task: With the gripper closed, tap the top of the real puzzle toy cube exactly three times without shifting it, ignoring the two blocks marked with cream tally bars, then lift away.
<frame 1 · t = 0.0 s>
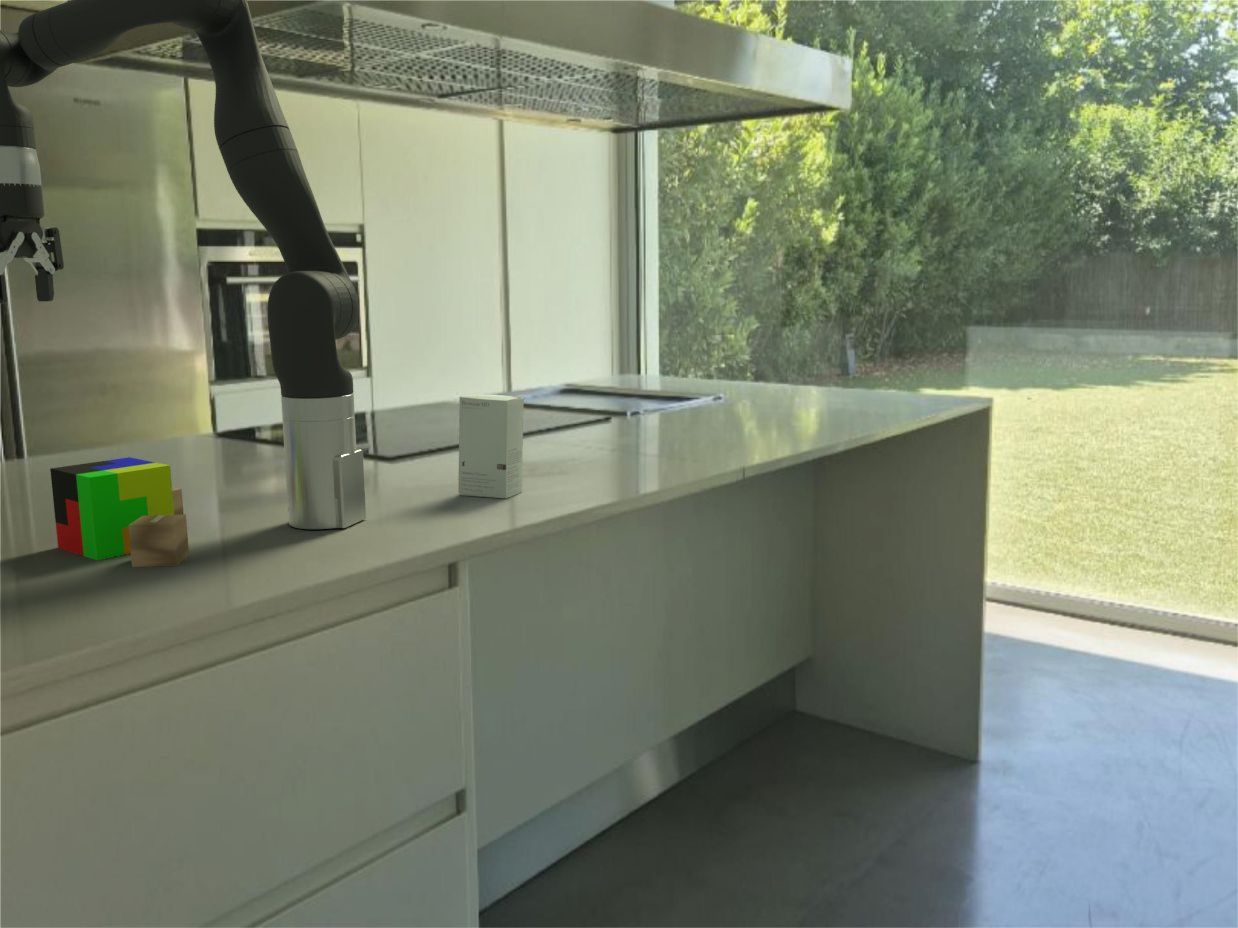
hand: (22, 302, 157), 29 cm above the counter, fingers open, 8 cm apart
two bar block: (156, 527, 149), on the counter
puzzle toy: (117, 547, 139), on the counter
skincare box: (492, 495, 169), on the counter
one bar block: (161, 561, 132), on the counter
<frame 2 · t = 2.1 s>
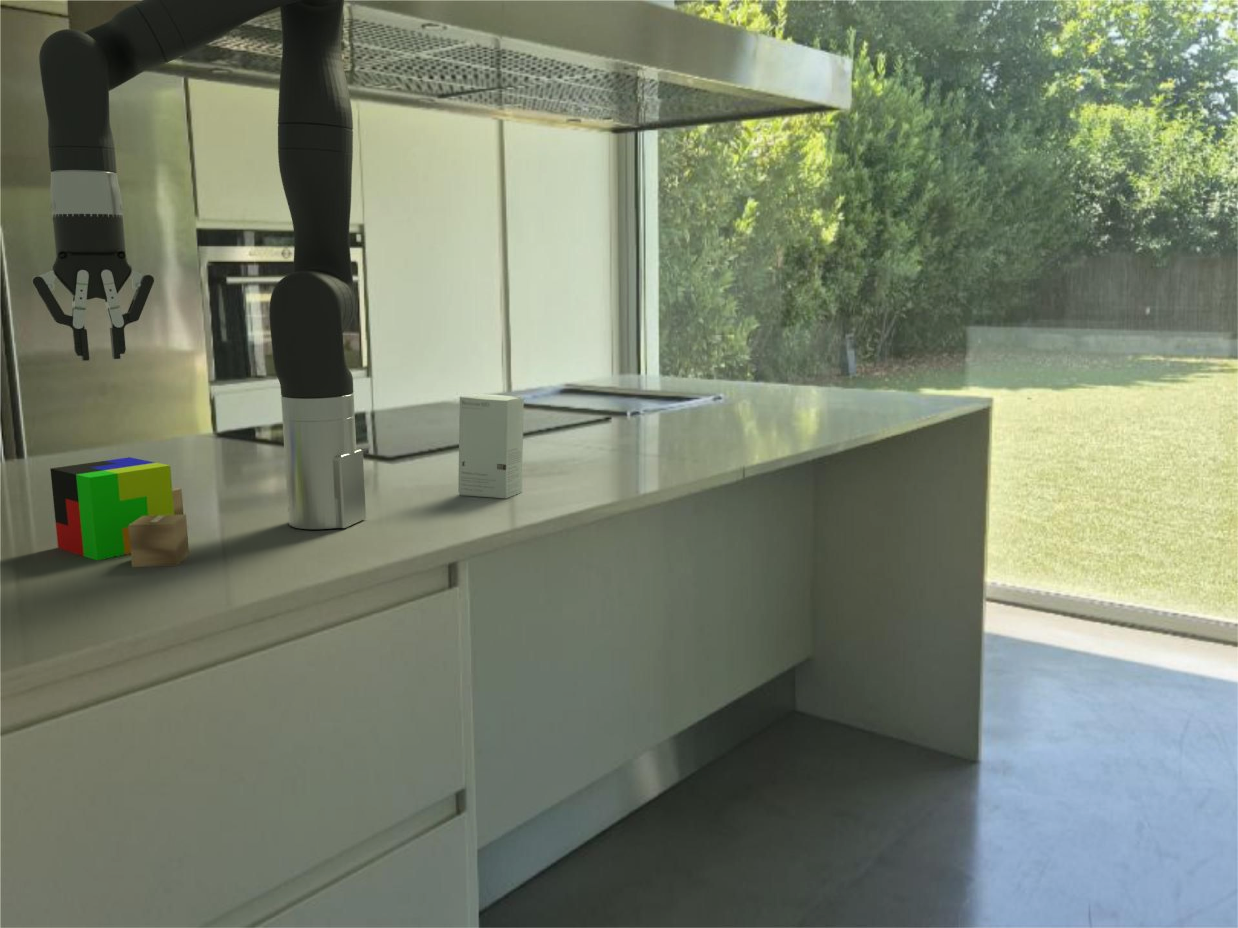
hand: (100, 358, 135), 23 cm above the counter, fingers open, 3 cm apart
nothing on the counter moved.
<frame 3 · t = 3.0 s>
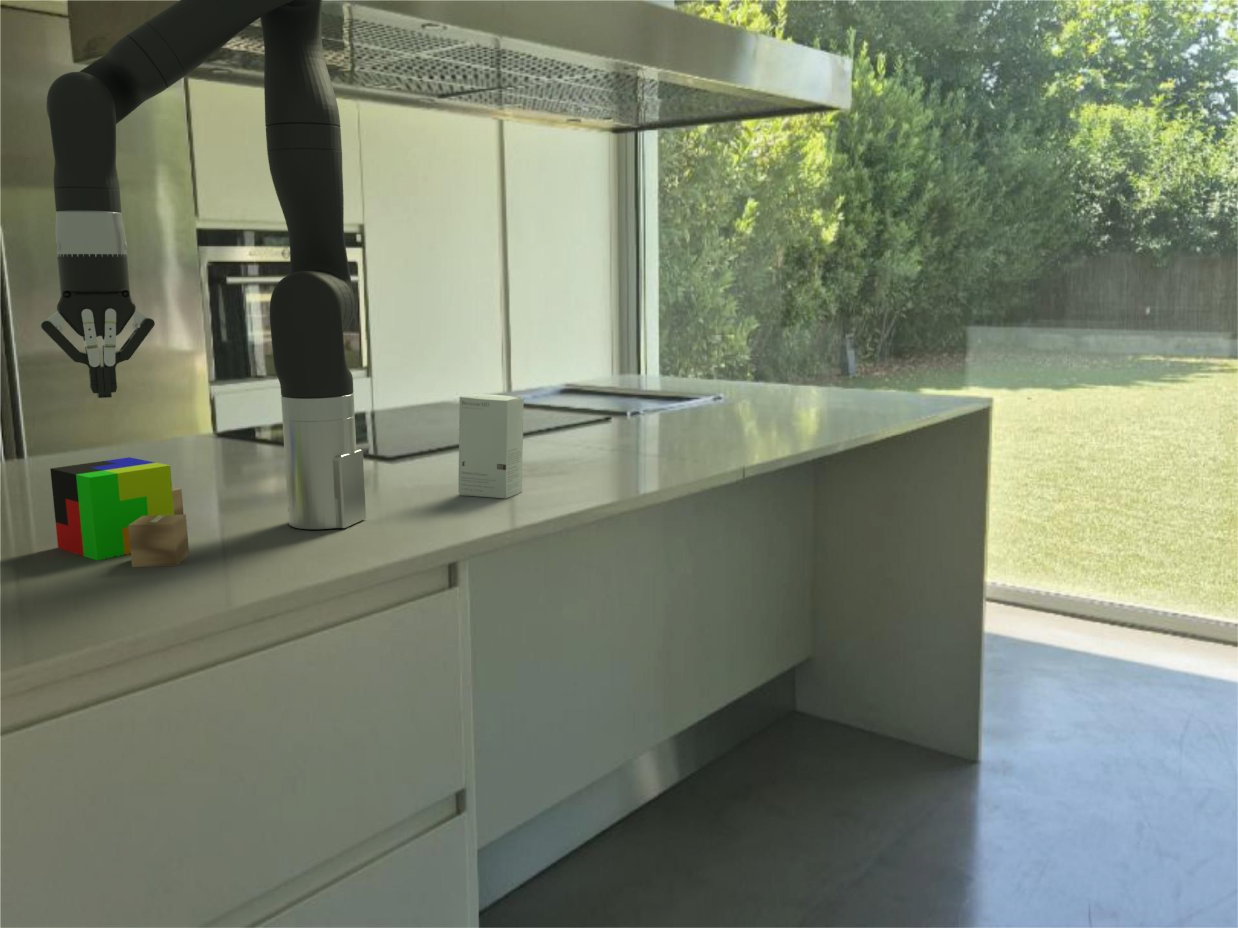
hand: (104, 397, 136), 18 cm above the counter, fingers closed
nothing on the counter moved.
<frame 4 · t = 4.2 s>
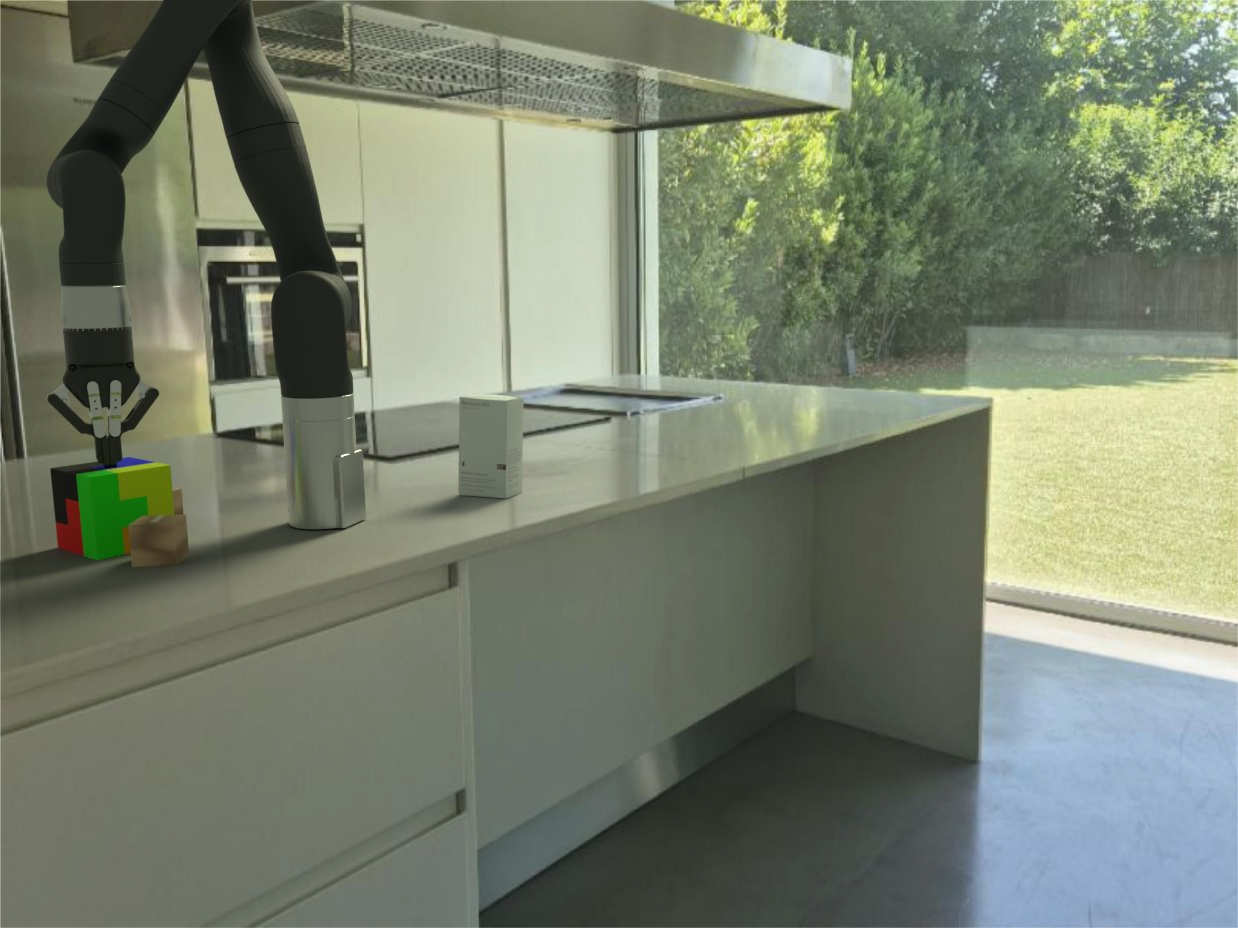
hand: (109, 466, 138), 10 cm above the counter, fingers closed
puzzle toy: (117, 547, 139), on the counter, touching gripper
everything else where it was.
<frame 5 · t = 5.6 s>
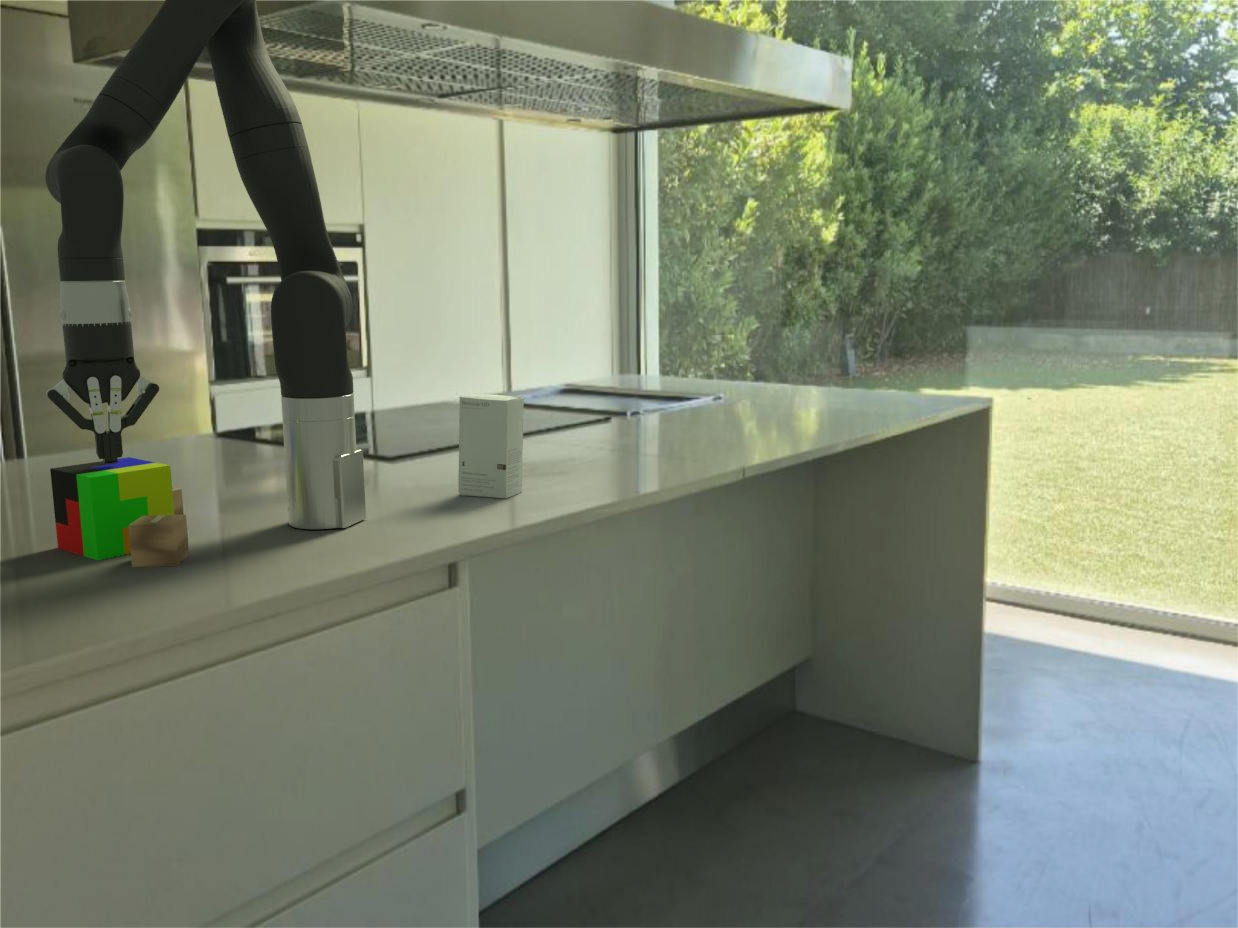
hand: (110, 462, 137), 11 cm above the counter, fingers closed
puzzle toy: (117, 547, 139), on the counter
everything else where it was.
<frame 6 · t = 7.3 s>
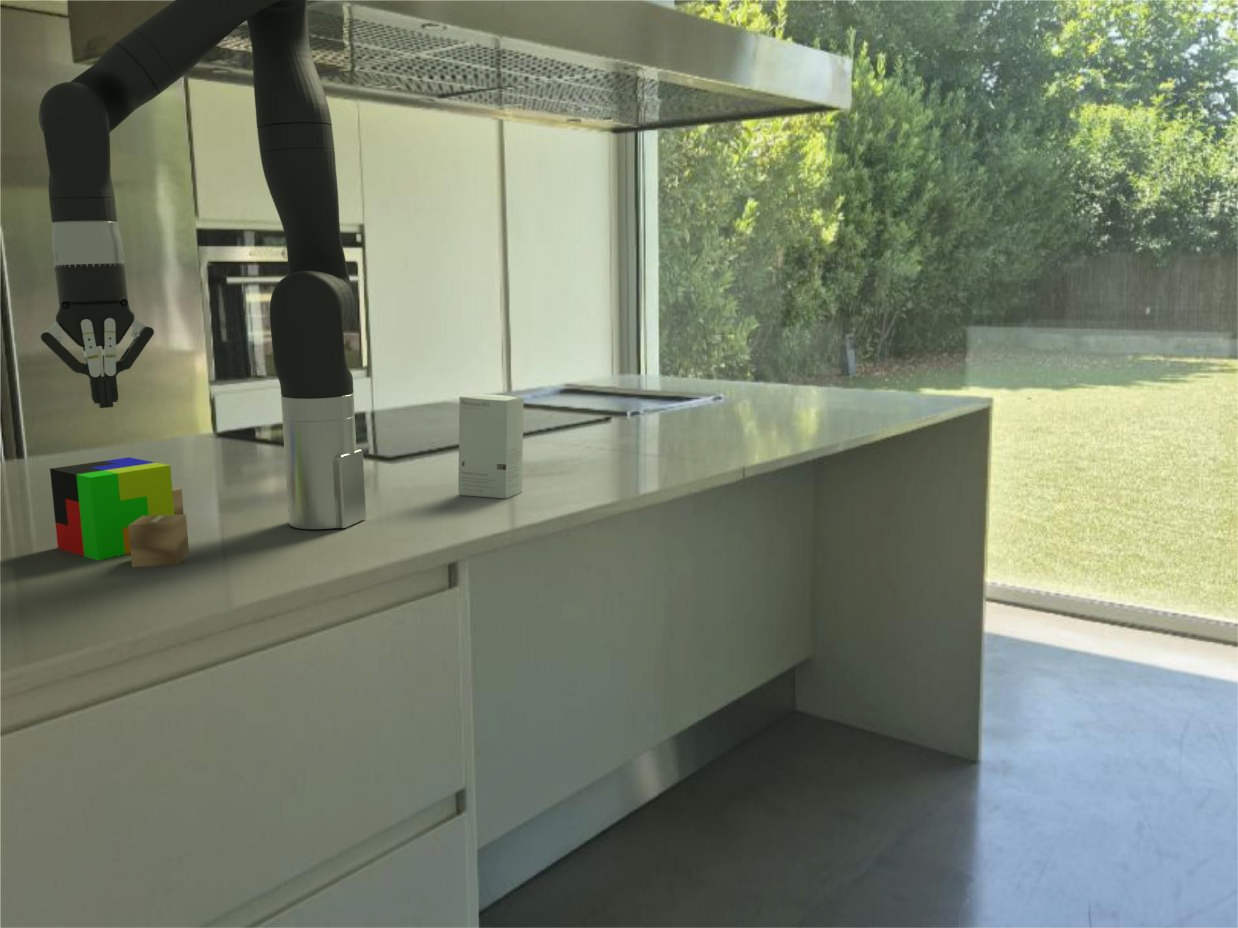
hand: (105, 406, 136), 17 cm above the counter, fingers closed
nothing on the counter moved.
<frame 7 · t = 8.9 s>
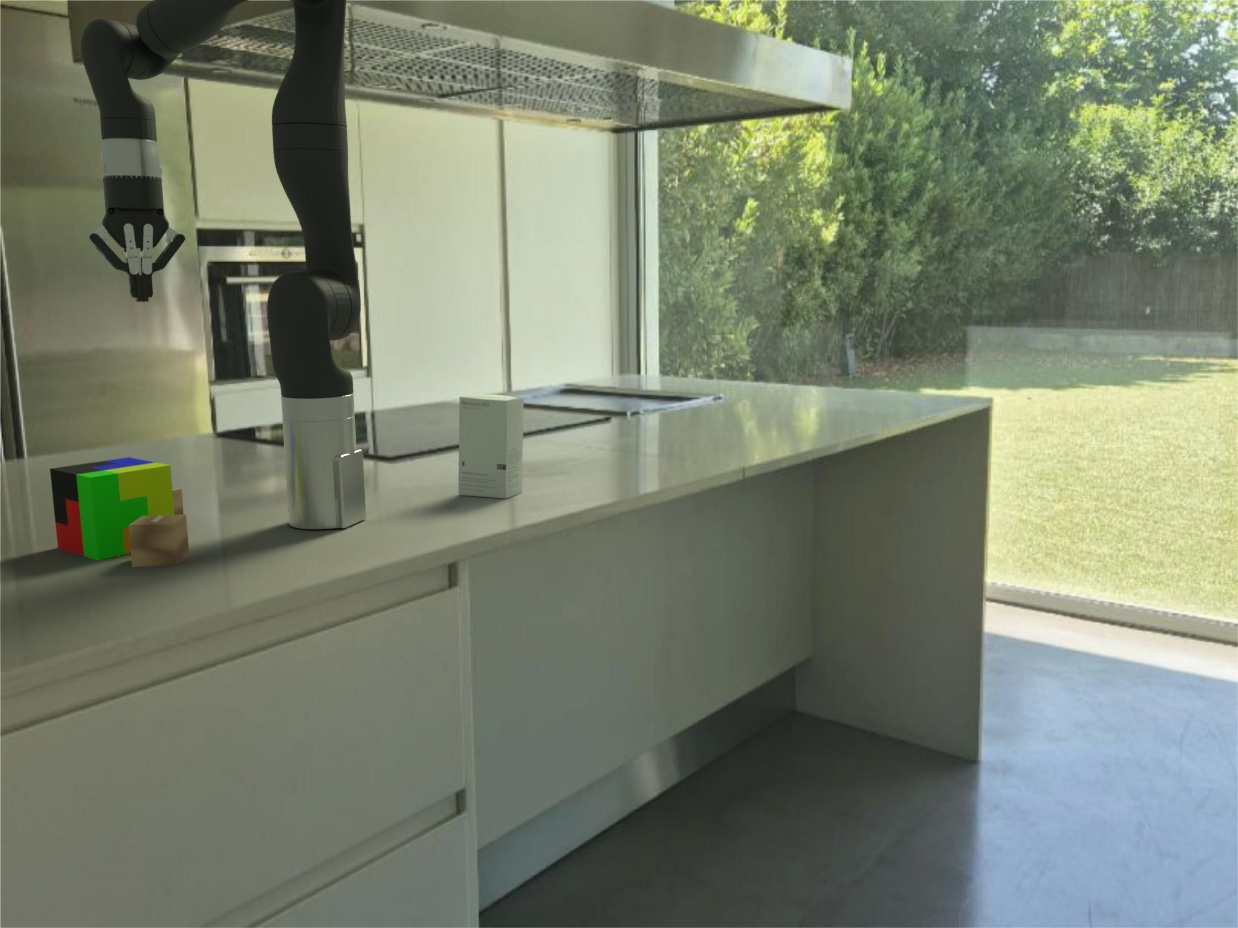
hand: (141, 301, 158), 29 cm above the counter, fingers closed
nothing on the counter moved.
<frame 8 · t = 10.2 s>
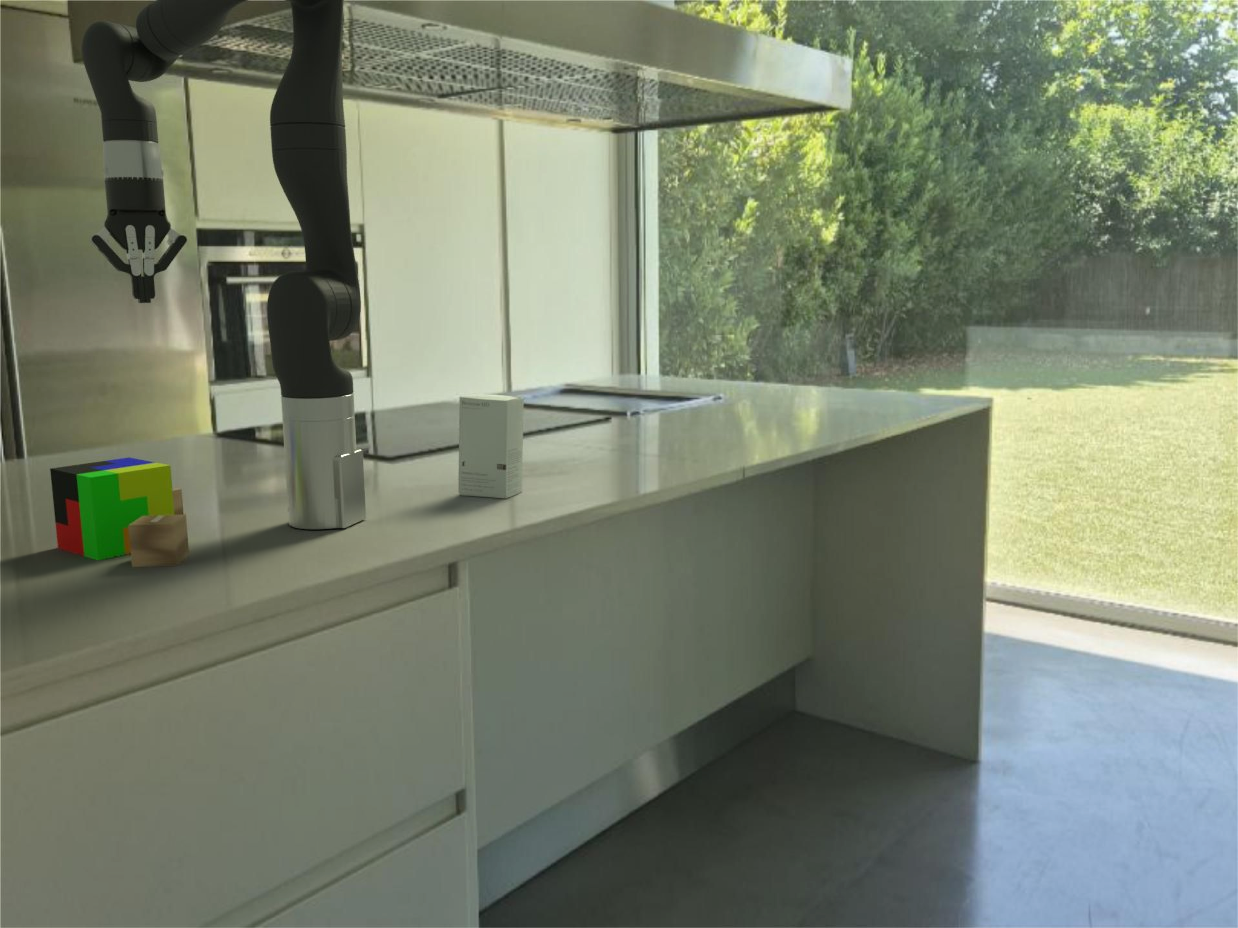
hand: (144, 302, 159), 29 cm above the counter, fingers closed
nothing on the counter moved.
at the end: puzzle toy moved 0.3 cm from its start; puzzle toy tilted 0°; one bar block moved 0.1 cm from its start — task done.
